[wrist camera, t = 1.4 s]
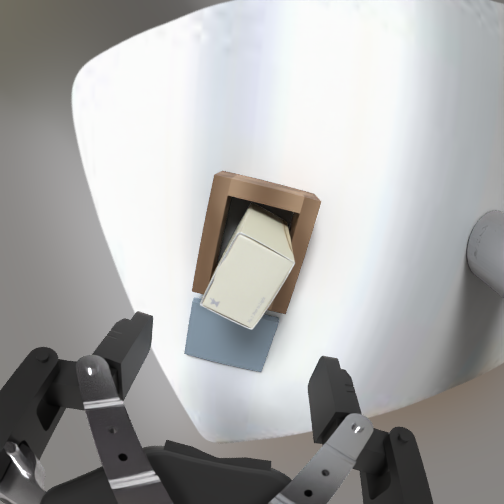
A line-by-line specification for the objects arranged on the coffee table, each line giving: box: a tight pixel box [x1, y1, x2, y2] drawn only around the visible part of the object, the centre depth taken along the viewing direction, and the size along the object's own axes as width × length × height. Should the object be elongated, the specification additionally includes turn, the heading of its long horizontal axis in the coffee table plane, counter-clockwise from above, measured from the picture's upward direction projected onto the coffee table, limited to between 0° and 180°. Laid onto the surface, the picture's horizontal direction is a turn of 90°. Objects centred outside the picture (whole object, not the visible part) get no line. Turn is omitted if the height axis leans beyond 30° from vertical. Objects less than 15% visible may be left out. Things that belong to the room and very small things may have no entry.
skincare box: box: [200, 203, 295, 330], centre depth 26 cm, size 6×4×12 cm
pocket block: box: [192, 171, 321, 314], centre depth 29 cm, size 9×11×4 cm
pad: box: [184, 298, 279, 372], centre depth 35 cm, size 10×8×1 cm
